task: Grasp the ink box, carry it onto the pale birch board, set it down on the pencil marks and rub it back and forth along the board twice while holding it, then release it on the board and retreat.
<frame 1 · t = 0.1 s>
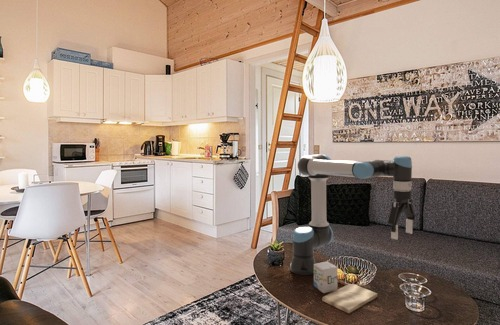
hand: (401, 235, 142), 28 cm above the table, fingers open, 13 cm apart
board: (350, 298, 142), on the table
ink box: (325, 288, 153), on the table
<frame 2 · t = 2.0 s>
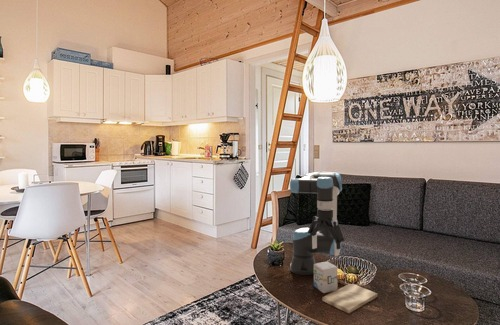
hand: (325, 251, 151), 18 cm above the table, fingers open, 13 cm apart
nothing on the table moved.
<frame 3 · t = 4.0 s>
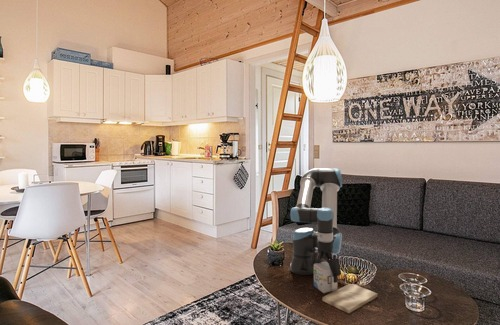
hand: (325, 284, 153), 2 cm above the table, fingers closed on ink box, 9 cm apart
ink box: (325, 288, 153), on the table, touching gripper
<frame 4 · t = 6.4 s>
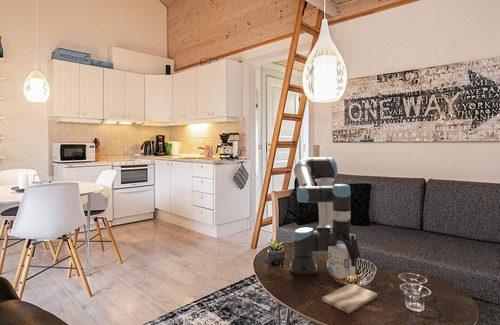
hand: (341, 269, 137), 15 cm above the table, fingers closed on ink box, 9 cm apart
ink box: (341, 273, 137), point 14 cm above the table, touching gripper
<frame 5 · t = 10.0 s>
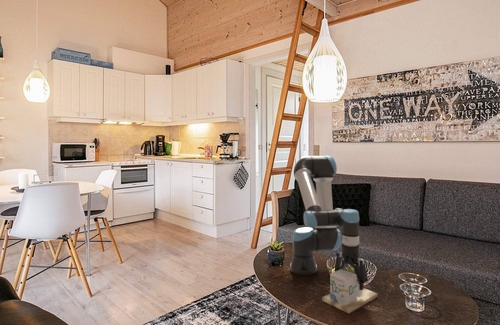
hand: (350, 292, 142), 3 cm above the table, fingers open, 9 cm apart
ink box: (343, 299, 138), point 1 cm above the table, touching board
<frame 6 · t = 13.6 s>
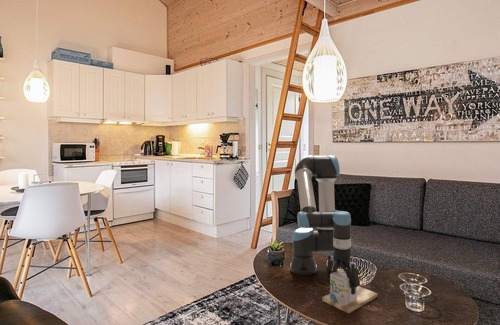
hand: (342, 296, 138), 3 cm above the table, fingers open, 9 cm apart
ink box: (343, 299, 138), point 1 cm above the table, touching board, gripper
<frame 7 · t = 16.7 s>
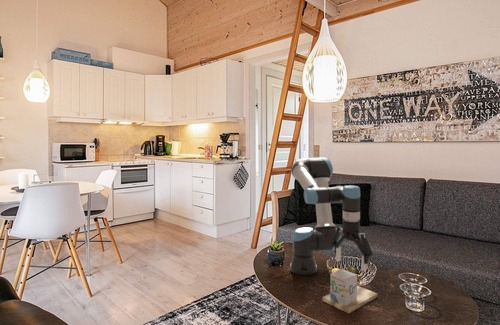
hand: (350, 265, 142), 15 cm above the table, fingers open, 13 cm apart
ink box: (343, 299, 138), point 1 cm above the table, touching board
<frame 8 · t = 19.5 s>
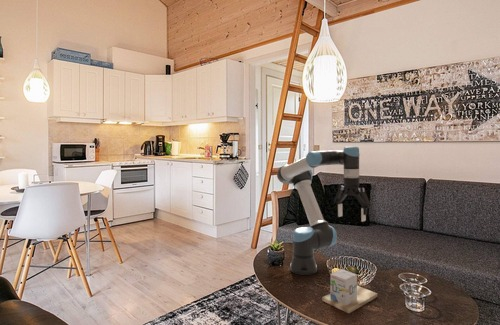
hand: (351, 218, 157), 33 cm above the table, fingers open, 13 cm apart
nothing on the table moved.
at the end: ink box inside the target area (5.0 cm from its centre), point 1.4 cm above the table; ink box tilted 0°; the gripper is holding nothing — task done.
